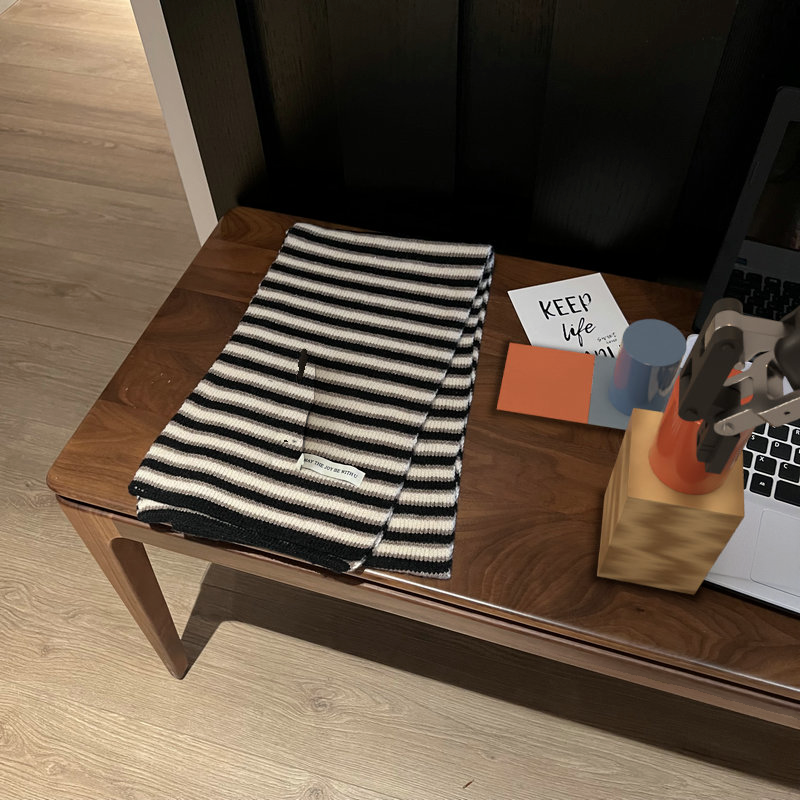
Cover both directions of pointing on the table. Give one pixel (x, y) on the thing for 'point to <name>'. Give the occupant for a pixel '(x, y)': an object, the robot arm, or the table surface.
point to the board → (560, 386)
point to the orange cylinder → (687, 451)
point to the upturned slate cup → (646, 366)
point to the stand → (663, 518)
